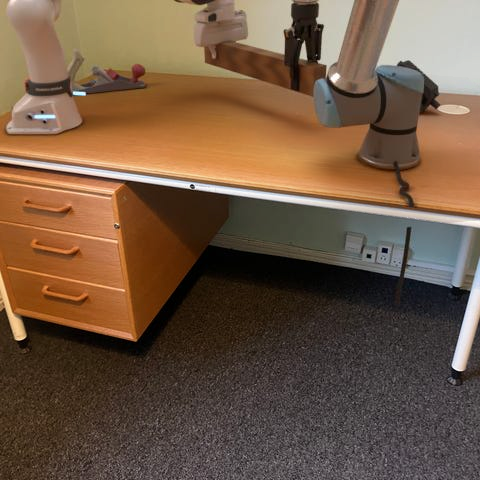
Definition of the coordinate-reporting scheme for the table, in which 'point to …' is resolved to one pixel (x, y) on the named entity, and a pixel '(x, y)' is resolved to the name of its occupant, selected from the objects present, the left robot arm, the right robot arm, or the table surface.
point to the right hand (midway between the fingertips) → (301, 88)
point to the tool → (429, 88)
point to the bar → (264, 65)
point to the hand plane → (104, 77)
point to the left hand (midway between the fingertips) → (222, 56)
